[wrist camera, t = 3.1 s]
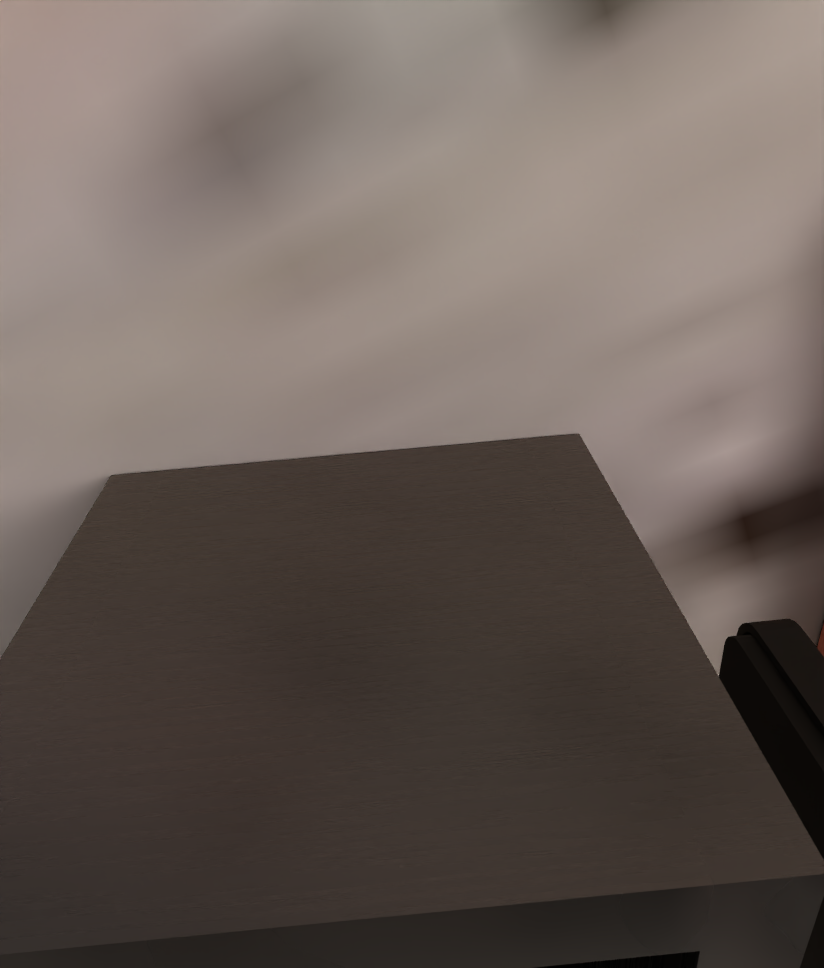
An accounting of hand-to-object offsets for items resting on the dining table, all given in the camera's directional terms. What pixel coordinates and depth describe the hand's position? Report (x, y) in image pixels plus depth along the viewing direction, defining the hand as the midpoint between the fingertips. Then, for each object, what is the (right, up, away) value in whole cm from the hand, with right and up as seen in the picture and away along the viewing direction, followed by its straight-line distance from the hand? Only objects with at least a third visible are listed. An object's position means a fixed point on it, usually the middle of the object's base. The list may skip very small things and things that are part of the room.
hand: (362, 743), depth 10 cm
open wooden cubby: (0, +1, +2) cm, 2 cm away
